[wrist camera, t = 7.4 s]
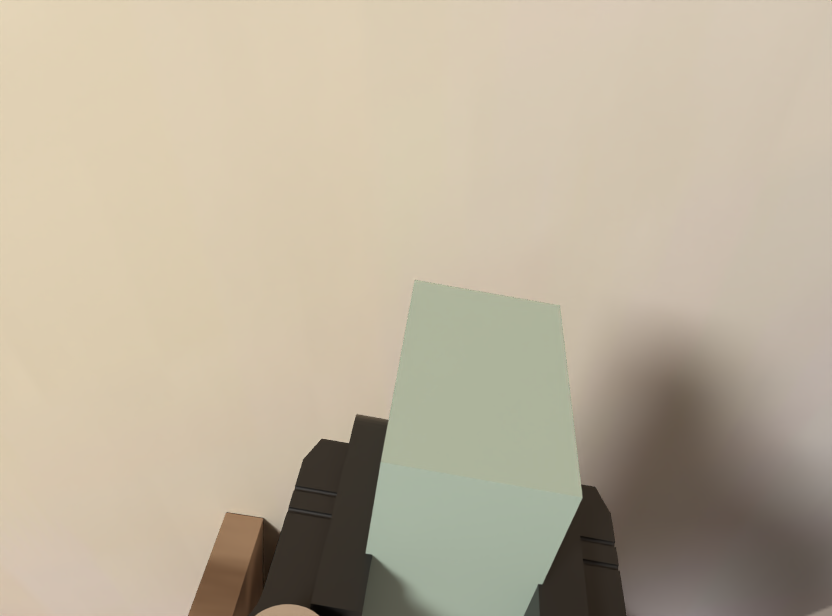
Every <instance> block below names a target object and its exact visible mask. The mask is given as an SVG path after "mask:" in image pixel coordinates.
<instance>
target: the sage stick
mask: <svg viewBox="0 0 832 616" xmlns="http://www.w3.org/2000/svg"><path fill="white" fill-rule="evenodd" d="M582 498H583V497H582V488H581V480H580V471H579V463H578V455H577V446H576V438H575V429H574V421H573V412H572V404H571V395H570V387H569V378H568V370H567V361H566V353H565V344H564V336H563V328H562V319H561V311H560V305H554V304H548V303H543V302H537V301H531V300H526V299H520V298H514V297H509V296H503V295H497V294H492V293H486V292H480V291H475V290H469V289H463V288H458V287H452V286H446V285H441V284H435V283H429V282H424V281H418V280H415V282H414V287H413V292H412V298H411V303H410V308H409V314H408V319H407V324H406V330H405V335H404V340H403V346H402V351H401V357H400V362H399V367H398V373H397V378H396V383H395V389H394V394H393V399H392V405H391V410H390V415H389V421H388V426H387V431H386V437H385V442H384V447H383V453H382V458H381V464H380V470H379V476H378V482H377V488H376V494H375V500H374V506H373V512H372V518H371V524H370V530H369V536H368V542H367V548H366V554H371V555H372V560H371V565H370V571H369V577H368V583H367V588H366V594H365V600H364V606H363V611H362V616H524V614H525V612H526V610H527V608H528V605H529V603H530V601H531V599H532V597H533V594H534V592H535V590H536V588H537V586H538V584H543V582H544V580H545V577H546V575H547V573H548V571H549V569H550V567H551V565H552V562H553V560H554V558H555V556H556V554H557V552H558V549H559V547H560V545H561V543H562V541H563V539H564V537H565V534H566V532H567V530H568V528H569V526H570V524H571V521H572V519H573V517H574V515H575V513H576V511H577V509H578V506H579V504H580V502H581V500H582Z"/></svg>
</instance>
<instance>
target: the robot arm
mask: <svg viewBox="0 0 832 616" xmlns="http://www.w3.org/2000/svg"><path fill="white" fill-rule="evenodd" d="M388 421H389V420H386V419H381V418H375V417H369V416H364V415H358V414H357V415H356V418H355V421H354V425H353V430H352V434H351V438H350V442H349V443H344V442H338V441H332V440H327V439H321V440H320V441H319V442H318V444H317V445H316V446H315V447H314V448H313V449H312V450H311V451H310V452H309V454H308V455H307V456H306V457H305V458H304V459H303V462H302V465H301V469H300V472H299V475H298V478H297V482H296V485H295V490H294V491H293V495H292V498H291V501H290V505H289V509H288V512H287V514H286V518H285V521H284V524H283V527H282V531H281V534H280V537H279V540H278V544H277V547H276V550H275V553H274V557H273V560H272V563H271V566H270V570H269V573H268V576H267V580H266V583H265V586H264V589H263V592H262V595H261V597H260V599H259V601H258V603H257V605H256V606H255V608H254V609H253V610H252V612H251V613H250V614H249V615H248V616H362V611H363V606H364V600H365V594H366V588H367V583H368V577H369V571H370V565H371V560H372V555H371V554H366V548H367V542H368V536H369V530H370V524H371V518H372V512H373V506H374V500H375V494H376V488H377V482H378V476H379V470H380V464H381V458H382V453H383V447H384V442H385V437H386V431H387V426H388ZM581 488H582V497H583V498H582V500H581V502H580V504H579V506H578V509H577V511H576V513H575V515H574V517H573V519H572V521H571V524H570V526H569V528H568V530H567V532H566V534H565V537H564V539H563V541H562V543H561V545H560V547H559V549H558V552H557V554H556V556H555V558H554V560H553V562H552V565H551V567H550V569H549V571H548V573H547V575H546V577H545V580H544V582H543V584H538V586H537V588H536V590H535V592H534V594H533V597H532V599H531V601H530V603H529V605H528V608H527V610H526V612H525V614H524V616H626V610H625V603H624V597H623V590H622V584H621V578H620V571H618V558H617V552H616V547H614V543H615V539H614V532H613V526H612V519H611V513H610V512H609V510H608V508H607V507H606V505H605V503H604V501H603V500H602V498H601V496H600V494H599V493H598V491H597V489H596V488H595V487H592V486H586V485H581Z"/></svg>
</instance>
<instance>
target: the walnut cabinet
mask: <svg viewBox="0 0 832 616" xmlns="http://www.w3.org/2000/svg"><path fill="white" fill-rule="evenodd" d="M262 592H263V518H258V517H251V516H245V515H238V514H232V513H226V514H225V517H224V520H223V523H222V525H221V528H220V531H219V533H218V536H217V539H216V542H215V544H214V547H213V550H212V552H211V555H210V558H209V560H208V563H207V566H206V569H205V571H204V574H203V577H202V579H201V582H200V585H199V588H198V590H197V593H196V596H195V598H194V601H193V604H192V606H191V609H190V612H189V615H188V616H248V615H249V614H250V613H251V612H252V610H253V609H254V608H255V606H256V605H257V603H258V601H259V599H260V597H261V595H262Z"/></svg>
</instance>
